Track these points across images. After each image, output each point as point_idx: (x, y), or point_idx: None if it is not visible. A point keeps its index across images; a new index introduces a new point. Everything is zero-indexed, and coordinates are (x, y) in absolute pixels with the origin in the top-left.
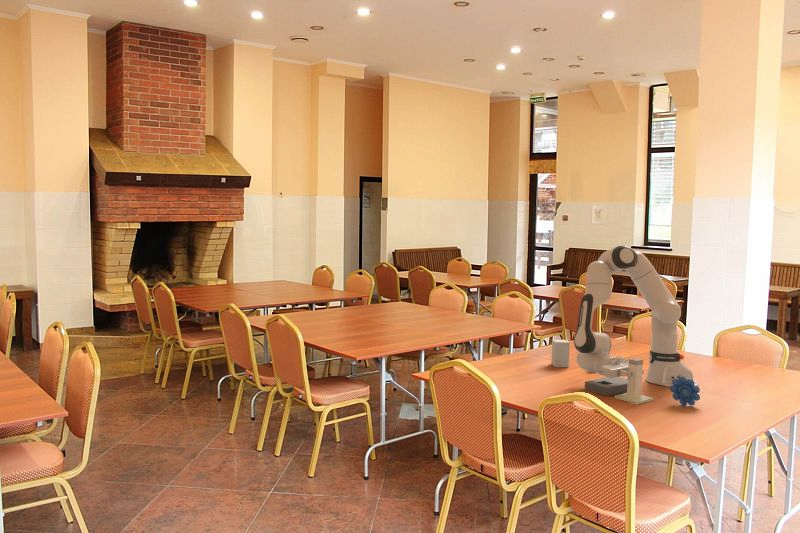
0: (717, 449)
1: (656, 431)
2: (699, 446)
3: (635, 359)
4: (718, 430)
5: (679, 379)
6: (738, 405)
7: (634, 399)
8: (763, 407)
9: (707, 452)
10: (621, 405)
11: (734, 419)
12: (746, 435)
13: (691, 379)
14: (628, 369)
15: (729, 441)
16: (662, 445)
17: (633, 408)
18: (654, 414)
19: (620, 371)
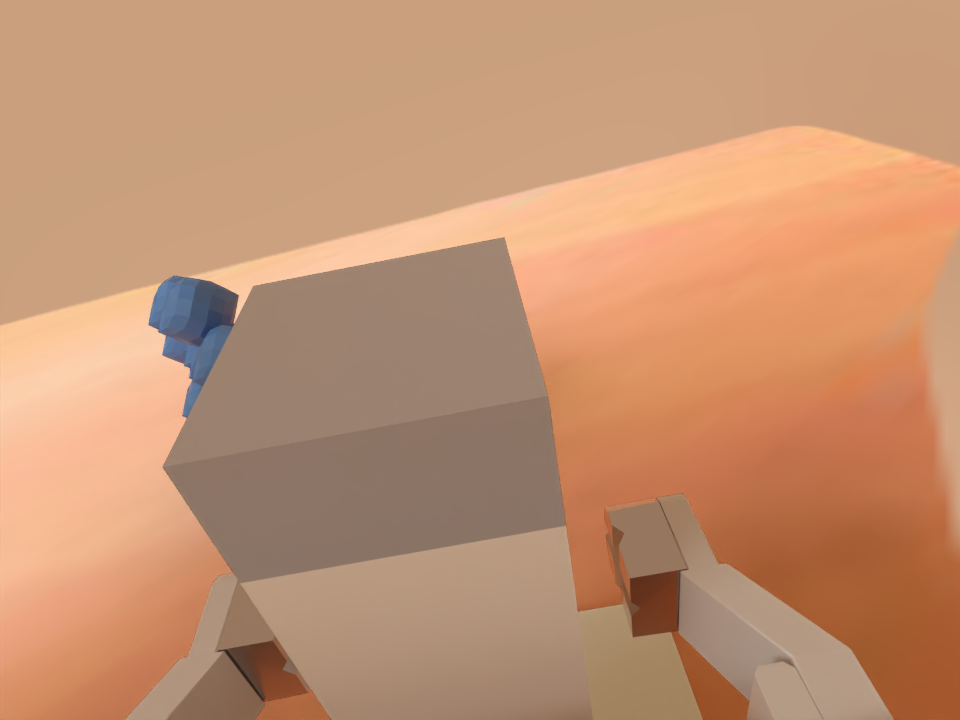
0: (709, 150)
1: (862, 234)
2: (758, 159)
3: (388, 323)
4: (537, 228)
5: (222, 309)
6: (39, 403)
7: (608, 698)
8: (10, 362)
9: (766, 139)
10: (878, 657)
11: None
12: (487, 202)
13: (174, 276)
14: (578, 628)
15: (603, 178)
16: (923, 161)
17: (776, 533)
18: (680, 392)
19: (869, 701)
